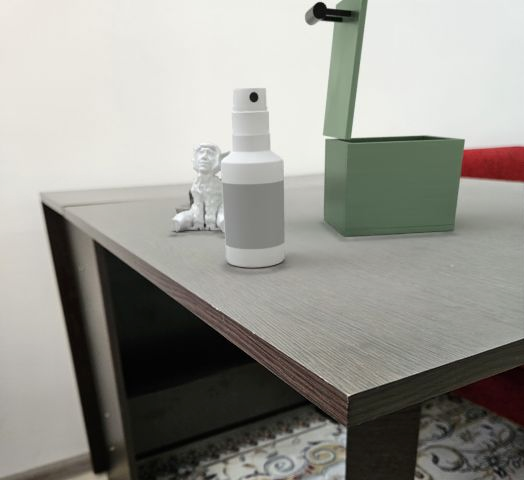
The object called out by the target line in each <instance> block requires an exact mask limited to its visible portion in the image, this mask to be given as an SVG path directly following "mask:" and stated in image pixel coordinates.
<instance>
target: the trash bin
mask: <svg viewBox="0 0 524 480" xmlns="http://www.w3.org/2000/svg"><path fill="white" fill-rule="evenodd" d="M465 142H466V139H465V138H457V137H447V136H440V135H439V136H438V135H437V136H436V135H429V134H420V135H395V136H392V135H391V136H369V137H368V136H367V137H351V140H345V139H340V138H325V139H324V179H323V181H324V182H323V184H324V185H323V220H324V221H325V222H326V223H328V224H329V225H330V226H331V227H332V228H334V229H335V230H336V231H337V232H338V233H339V234H341V235H342V236H343V237H361V236H362V237H363V236H377V235H378V236H379V235H395V234H397V235H398V234H415V233H434V232H449V231H450V232H451V231H455V222H456V216H457V215H456V214H457V207H458V200H459V198H458V197H459V192H460V182H461V175H462V167H463V160H464V159H463V158H464V151H465Z"/></svg>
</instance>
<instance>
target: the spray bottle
mask: <svg viewBox="0 0 524 480" xmlns="http://www.w3.org/2000/svg"><path fill="white" fill-rule="evenodd" d="M232 100H233V101H232V103H233V107H232V112H231V126H232V133H231V143H232V151H230V154H229V155H228V156H226V157H225V158H224V159H223V160H222V161H221V171H220V174H221V175H220V176H221V177H220V179H221V178H222V194H223V211H224V228H225V233H224V240H225V241H224V243H225V258H226V261H227V263H228V264H230V265H231V266H235V267H240V268H249V269H250V268H253V269H254V268H267V267H272V266H275V265H278V264H280V263H282V262H283V261H284V259H285V257H286V255H285V254H286V253H285V250H286V249H285V248H286V246H285V244H286V243H285V240H286V239H285V182H284V181H285V171H284V170H285V169H284V168H285V166H284V164H285V163H284V159H283V158H282V157H281V156H280V155H279V154H277V153H275V152H274V151H272V150H271V132H270V111H268V106H267V88H266V87H241V88H233V89H232Z"/></svg>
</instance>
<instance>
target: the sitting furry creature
mask: <svg viewBox="0 0 524 480" xmlns="http://www.w3.org/2000/svg"><path fill="white" fill-rule="evenodd" d="M192 150H193V157H192V158H191V162H192V165H193V167H192V168H193V170H194V171H195V172H196V173H197V175H196V177H194V178H193V183H192V185H191V188H190V189H191V194H192V196H193V198H194V203H193V204H192V205H191V209H190V210H189V211H188V210H187V211H185V212H181V213H179V214H177V213H176V214H175V215H174V217H172V218H171V219H170V220H169V226H170V229H171V230H172V231H173V232H176V233H179V232H184V231H198V230H199V231H204V230H206V231H221V232H222V233H223V234H225V228H224V211H223V194H222V182H221V180H220V179H221V178H220V177H219V176H218V175H217V174H218V173H219V172H221V161H222V160H223V159H224V158H225V157H226V156H228V155H229V154H230V153H231V151H230V150H228V151H224V152H222V150H221V148H220V147H219V146H218V145H216V144H214V143H213V142H210V141H207V142H205V141H203V142H200V143H199V144H198V145H196V147H193V149H192Z"/></svg>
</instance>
